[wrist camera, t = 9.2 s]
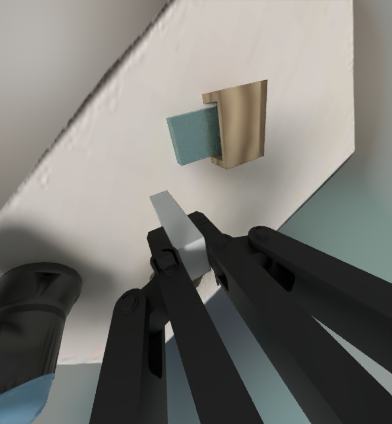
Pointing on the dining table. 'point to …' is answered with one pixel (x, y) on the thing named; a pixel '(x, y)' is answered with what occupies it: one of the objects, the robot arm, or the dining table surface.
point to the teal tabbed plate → (195, 135)
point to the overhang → (240, 123)
